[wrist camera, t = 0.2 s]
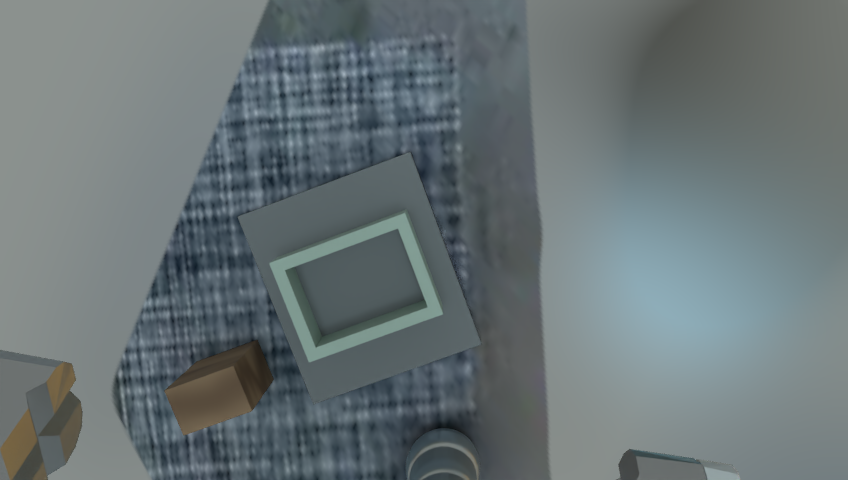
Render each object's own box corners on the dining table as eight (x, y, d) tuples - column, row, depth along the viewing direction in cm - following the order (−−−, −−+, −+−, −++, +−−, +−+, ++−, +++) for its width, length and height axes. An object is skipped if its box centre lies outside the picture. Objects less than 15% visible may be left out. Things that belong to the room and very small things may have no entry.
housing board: (480, 339, 66) (484, 355, 61) (316, 398, 67) (306, 418, 62) (410, 151, 64) (408, 152, 59) (242, 215, 65) (226, 220, 60)
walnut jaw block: (273, 379, 66) (252, 411, 59) (213, 401, 67) (183, 435, 59) (257, 339, 66) (233, 365, 58) (196, 361, 66) (164, 390, 58)
